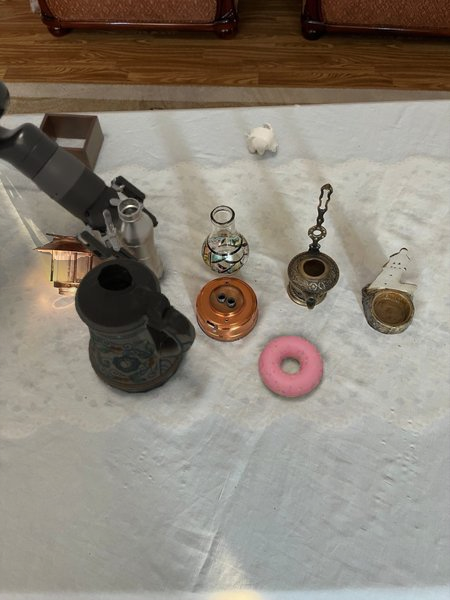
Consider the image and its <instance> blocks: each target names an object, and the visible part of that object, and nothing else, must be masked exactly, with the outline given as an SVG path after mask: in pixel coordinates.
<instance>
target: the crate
mask: <svg viewBox="0 0 450 600" xmlns="http://www.w3.org/2000/svg"><path fill="white" fill-rule="evenodd" d="M38 128H39V129H40V130H42V131H43V132H44V133H45V134H46V135H48V136H49V137H50V138H51V139H52V140H54V141H55V142H56V141H57V139H69V140H70V139H71V140H72V139H73V140H84V143H83V146H82V147H73V146H61V147H62V148H64V149H65V150H67V151H68V152H70V153H71V154H73V155H74V156H75V157H76V158H77V159H79V160H80V161H81V162H82V163H83V164H84V165H86V166H87V167H88V168H89V169H90V170H92V171H93V172H94V171H95V168H96V166H97V165H96V164H97V162H98V159H99V155H100V152H101V149H102V146H103V143H104V140H105V137H104V133H103V130H102V127H101V123H100V120H99V117H98V115H92V114H76V113H74V114H73V113H72V114H71V113H55V112H54V113H53V112H44V115H43V118H42V120H41V122H40V125H39V127H38Z"/></svg>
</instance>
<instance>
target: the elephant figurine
mask: <svg viewBox="0 0 450 600" xmlns="http://www.w3.org/2000/svg"><path fill="white" fill-rule="evenodd" d="M262 125H263V127H262V126H257V127H255V128H253V129H252V130H251V132H250V133H249V134H248V133H246V132H244V134H245V135H246V136H247V139H246V145H247V148H248V150H249V152H250V153H252V154H253V153H256V152H257V155H259V156H263V155H264V154H265V151H269V152H271V153H275V152H276V151H277V150H278V149H277V148H278V146H279V145H278V141H277V138H276V134H275V129H274V127H273V125H271V124H270V123H268V122H263V123H262Z"/></svg>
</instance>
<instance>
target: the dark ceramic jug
mask: <svg viewBox="0 0 450 600" xmlns="http://www.w3.org/2000/svg"><path fill="white" fill-rule="evenodd" d="M75 290H76V291H75V295H74V307H75V310H76V314H77V316H78V317H79V319H80V320H81V321H82V322H83V323H84V325H86V326H87V328H88V332H89V340H88V349H87V350H88V351H87V352H88V358H89V362H90V365H91V367H92V369H93V372H94V373H95V374H96V375H97V377H98V378H99V379H100V380H101V381H102V382H104V383H105V384H106V385H108V386H110V387H111V388H113V389H116V390H119V391H122V392H124V393H126V394H146V393H149V392H151V391H153V390H156V389H159V388H161V387H163V386H164V385H165V384H167V382H168V381H170V379H171V378H172V377H173V376H174V375H175V374H176V373H177V372H178V370H179V367H180V365H181V363H182V361H183V357H184V354H186V353H188V351H190V349H191V348H192V346H193V345H194V343H195V340H196V335H197V333H196V328H195V325H194V324H193V323H192V321H191V320H190V319H189V318H188V317H187V316H186V315H184V314H183V313H182V312H181V311H179V310H178V309H177V308H175V307H174V305H172V304H171V302H170V300H169V298H168V297H167V295H165V293H162V287H161V284H160V279H159V280H158V278H157V276H156V275H155V273H154V272H153V271H152V270H151V269H150V268H149V267H148V266H146V265H144V264H143V263H141V262H138V261H136V260H132V259H117V258H113V259H107V260H104V261H102V262H100V263H98V264H97V265H95V266H94V267H92V268H91V269H90V270H89V271H88V272H86V273H85V275H84V276H83V277H82V279H81V280H80V282H79V284H78V286H77V288H76V289H75Z"/></svg>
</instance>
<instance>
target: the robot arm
mask: <svg viewBox="0 0 450 600" xmlns="http://www.w3.org/2000/svg"><path fill="white" fill-rule="evenodd" d="M10 105H11V95H10V91H9V89H8V87H7V86H6V84H5V83H4V81H2V80H1V79H0V120H1V119H2V118H3V116H5V114H6V113H7V111H8V110H9V107H10ZM62 147H63V146H61V145H59V143H58V142H56V141H54V140H52V139H51V138H50V137H49V136H48V135H46V134H45V133H44V132H43V131H42V130H40V129H39V127H38V126H37V125H35V124H34V123H33V122H23V123H22V124H19V125H18V126H17V127H15V128H13V129H10V128H7V127H4V126H3V125H2V126H1V125H0V160H2V161H5V162H7V163H8V164H10V166H12V167H14V168H15V169H16V170H17V171H18V172H19V173H21V174H22V175H23V176H25V177H26V178H27V179H28V180H30V181H31V182H32V183H33V184H34V185H36V187H38V189H39V190H41V192H43V193H44V194H45V195H46V196H48V197H49V199H51V200H53V201H54V202H55V203H57V204H58V205H59V206H61V208H63V209H64V210H65V211H67V212H68V213H70V215H72V216H73V217H75V218H77V219H78V220H81V222H82V223H83V225H84V227H83V229H82V230H81V232H79V233H77V234H76V235H75V240H76V241H77V242H78V243H79V244H80V245H82V246H83V247H84V248H86V250H88V251H89V252H90V253H91V254H93V256H95V257H96V258H97V259H98V260H100V261H106V260H108V259H109V258H111V257H114V259H132V260H136V261H138V259H137V258H135V257H134V256H133V255H132V254H130V253H129V252H128V251H127V250H125V248H124V246H120V244H119V241H118V236H117V233H116V227H117V222H118V219H119V212H118V205H119V203H120V202H121V201H122V200H123V199H121V198H120V195H119V193H121V194H122V195H123V196H125V197H126V199H127V198H133V199H136V200H137V201H138V202H139V204H140V207H141V209H142V212H144V213H146V214H147V215H148V216H149V217H150V219H151V220H152V222H153V227H154V228H157V227H158V225H159V221H158V220H157V219H158V218H157V217H156V216H155V214H153V213H152V212H151V211H149V210H148V209H147V208H146V207H145V205H144V202H145V200H146V197H147V196H146V194H145V193H144V192H143V191H141V190H140V189H139V187H137V186H135V184H133V183H132V182H130V181H129V180H128V179H126V177H124V176H122V175H118V176H116V177H114V178H113V179H112V180H110V186H109V185H107V184H106V182H105V180H103V179H102V178H101V177H100V176H99V175H98V174H97V173H95V172H94V171H92V170H90V169H89V168H88V167H87V166H86V165H84V164H83V163H82V162H81V161H80V160H79V159H77V158H76V157H75V156H74V155H73V154H71V153H70V152H68V151H67V150H65V149H64V148H62ZM93 231H96V232H97V234H98V237H99V240H98V239H97V238H96V235H95V233H94V232H93Z"/></svg>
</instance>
